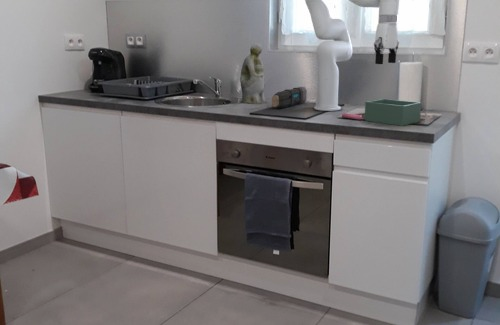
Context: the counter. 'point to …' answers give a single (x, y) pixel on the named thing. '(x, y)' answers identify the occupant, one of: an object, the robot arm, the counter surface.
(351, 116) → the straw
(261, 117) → the counter surface
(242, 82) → the sculpture
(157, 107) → the counter surface
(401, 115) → the bin
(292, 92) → the dark brown log
